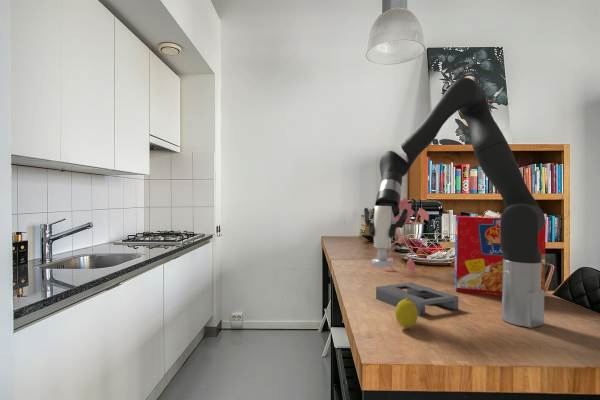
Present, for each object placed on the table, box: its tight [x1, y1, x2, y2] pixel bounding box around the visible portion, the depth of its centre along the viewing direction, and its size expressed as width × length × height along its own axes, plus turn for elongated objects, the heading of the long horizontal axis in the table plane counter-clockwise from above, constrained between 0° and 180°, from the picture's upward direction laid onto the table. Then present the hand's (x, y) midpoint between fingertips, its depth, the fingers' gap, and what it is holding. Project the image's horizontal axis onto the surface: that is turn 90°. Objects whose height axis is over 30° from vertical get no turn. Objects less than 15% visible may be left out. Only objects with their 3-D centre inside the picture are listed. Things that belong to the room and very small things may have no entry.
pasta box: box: [453, 215, 547, 297], centre depth 131 cm, size 28×8×28 cm, turn 72°
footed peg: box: [371, 205, 393, 268], centre depth 108 cm, size 6×6×18 cm
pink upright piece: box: [378, 197, 430, 278], centre depth 164 cm, size 15×26×35 cm, turn 62°
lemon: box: [395, 298, 418, 330], centre depth 93 cm, size 6×6×8 cm
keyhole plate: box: [375, 282, 459, 317], centre depth 116 cm, size 20×16×4 cm
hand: (381, 235), depth 106 cm, fingers closed on footed peg, 5 cm apart
